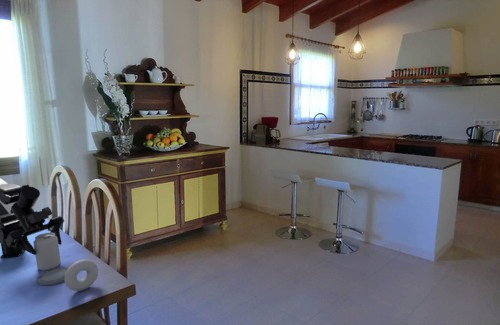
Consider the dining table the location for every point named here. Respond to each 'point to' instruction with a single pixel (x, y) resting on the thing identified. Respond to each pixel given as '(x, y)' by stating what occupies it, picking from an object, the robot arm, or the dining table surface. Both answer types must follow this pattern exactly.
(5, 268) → the dining table surface
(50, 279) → the dish
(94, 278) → the donut
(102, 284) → the dining table surface
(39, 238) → the can
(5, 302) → the dining table surface
